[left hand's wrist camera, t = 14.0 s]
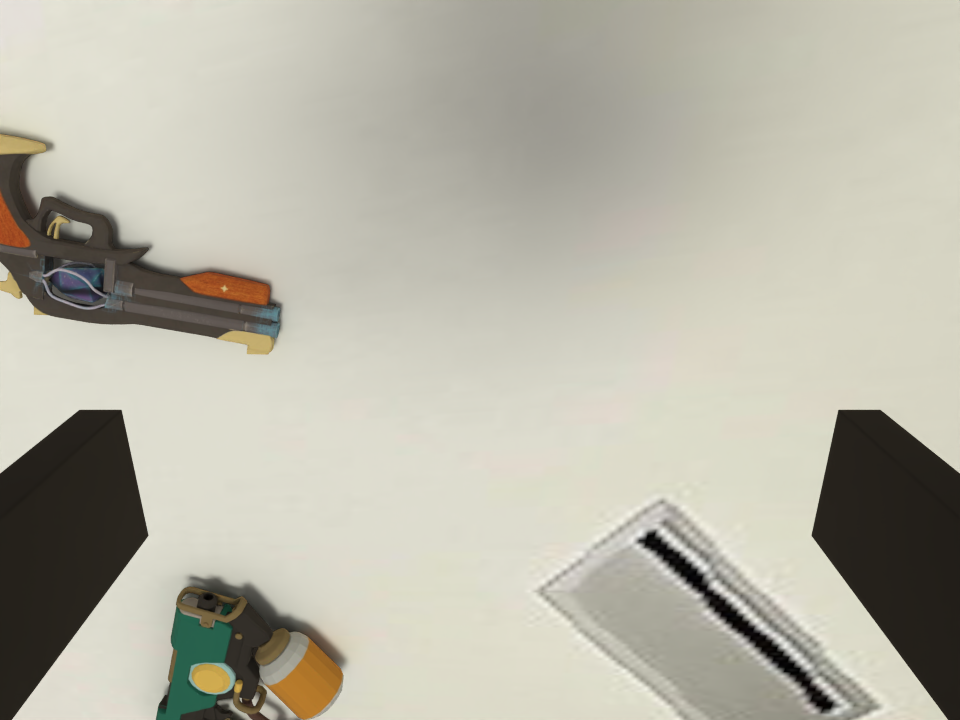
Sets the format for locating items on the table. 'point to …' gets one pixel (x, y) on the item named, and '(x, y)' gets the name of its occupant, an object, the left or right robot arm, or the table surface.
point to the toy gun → (117, 273)
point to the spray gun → (241, 663)
